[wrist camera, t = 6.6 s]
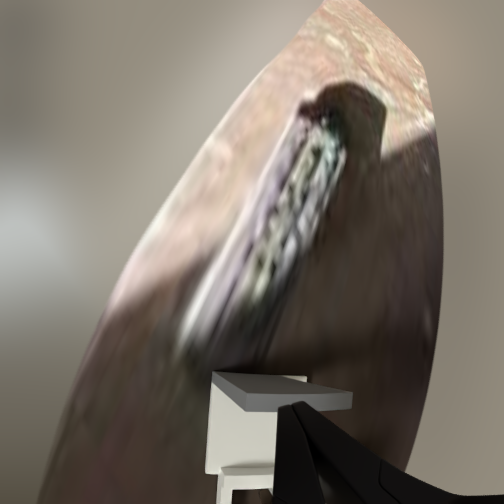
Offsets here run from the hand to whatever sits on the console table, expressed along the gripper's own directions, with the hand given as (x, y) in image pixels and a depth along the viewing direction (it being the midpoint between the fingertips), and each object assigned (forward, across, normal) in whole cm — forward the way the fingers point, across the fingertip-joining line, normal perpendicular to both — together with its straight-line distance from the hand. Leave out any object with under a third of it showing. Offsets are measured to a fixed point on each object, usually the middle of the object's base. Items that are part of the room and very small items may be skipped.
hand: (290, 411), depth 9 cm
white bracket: (+7, 0, +14) cm, 15 cm away
